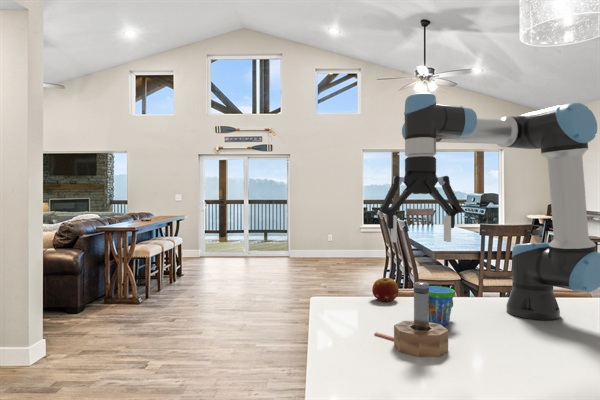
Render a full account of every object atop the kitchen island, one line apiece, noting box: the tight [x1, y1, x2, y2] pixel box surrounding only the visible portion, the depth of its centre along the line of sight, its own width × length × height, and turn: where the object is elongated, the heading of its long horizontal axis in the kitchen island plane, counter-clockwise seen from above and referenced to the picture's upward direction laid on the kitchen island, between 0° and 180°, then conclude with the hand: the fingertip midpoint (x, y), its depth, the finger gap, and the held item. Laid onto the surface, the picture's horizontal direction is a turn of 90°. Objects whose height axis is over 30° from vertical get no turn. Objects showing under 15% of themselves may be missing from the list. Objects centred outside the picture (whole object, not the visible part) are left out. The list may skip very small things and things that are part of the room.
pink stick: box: [374, 332, 394, 342], centre depth 109 cm, size 12×1×1 cm, turn 43°
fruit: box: [371, 277, 400, 302], centre depth 153 cm, size 10×9×8 cm
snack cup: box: [429, 285, 456, 326], centre depth 125 cm, size 16×10×10 cm
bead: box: [393, 320, 449, 358], centre depth 103 cm, size 12×12×5 cm
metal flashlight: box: [413, 281, 430, 331], centre depth 103 cm, size 4×4×16 cm
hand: (420, 241), depth 103 cm, fingers open, 13 cm apart
